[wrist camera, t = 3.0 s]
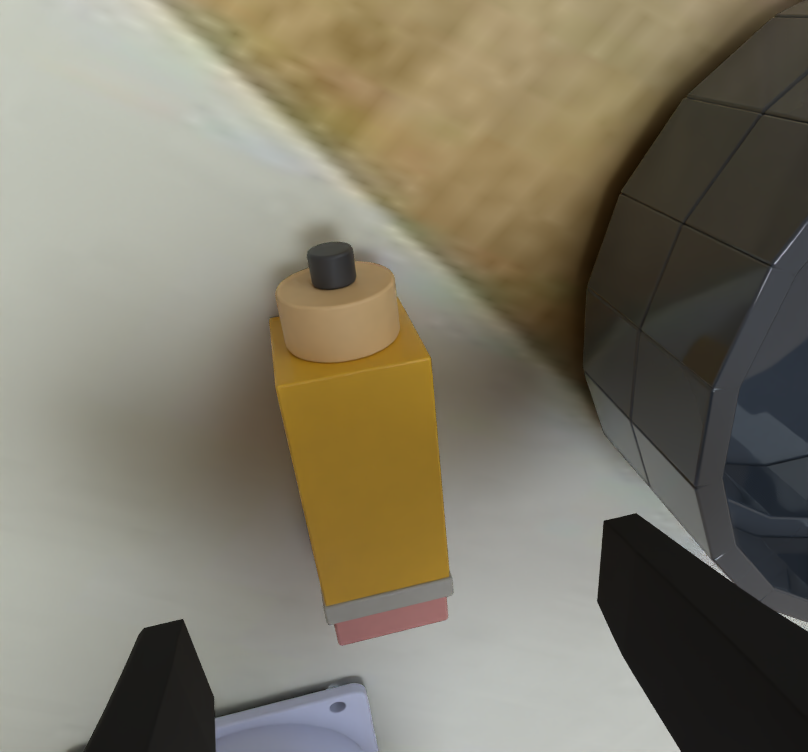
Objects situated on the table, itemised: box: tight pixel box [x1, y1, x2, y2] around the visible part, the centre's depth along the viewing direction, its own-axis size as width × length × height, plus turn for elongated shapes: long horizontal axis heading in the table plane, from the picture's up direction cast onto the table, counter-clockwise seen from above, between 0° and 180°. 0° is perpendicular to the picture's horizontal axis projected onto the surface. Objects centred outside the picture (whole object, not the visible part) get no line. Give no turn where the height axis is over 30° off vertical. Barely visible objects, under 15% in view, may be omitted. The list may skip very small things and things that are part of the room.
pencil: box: [269, 242, 453, 646], centre depth 15 cm, size 10×3×3 cm, turn 6°
